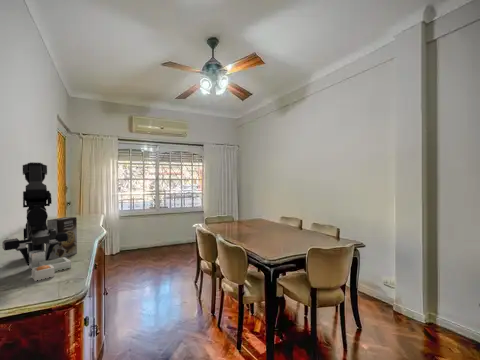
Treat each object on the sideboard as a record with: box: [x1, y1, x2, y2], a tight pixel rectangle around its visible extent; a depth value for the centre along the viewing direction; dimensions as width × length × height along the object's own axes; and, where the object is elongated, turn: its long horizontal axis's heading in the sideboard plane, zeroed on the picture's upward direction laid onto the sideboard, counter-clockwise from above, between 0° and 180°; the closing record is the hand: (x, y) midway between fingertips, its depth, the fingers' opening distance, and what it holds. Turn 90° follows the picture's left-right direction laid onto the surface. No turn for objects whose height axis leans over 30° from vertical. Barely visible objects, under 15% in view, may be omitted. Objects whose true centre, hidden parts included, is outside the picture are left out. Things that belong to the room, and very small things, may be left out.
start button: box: [37, 265, 49, 271], centre depth 87 cm, size 3×3×2 cm
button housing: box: [31, 264, 56, 282], centre depth 87 cm, size 5×5×3 cm
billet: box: [29, 249, 46, 270], centre depth 97 cm, size 4×4×6 cm
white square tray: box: [39, 257, 72, 272], centre depth 96 cm, size 8×8×2 cm
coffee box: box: [46, 216, 78, 260], centre depth 111 cm, size 9×6×16 cm
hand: (37, 263), depth 97 cm, fingers open, 5 cm apart
